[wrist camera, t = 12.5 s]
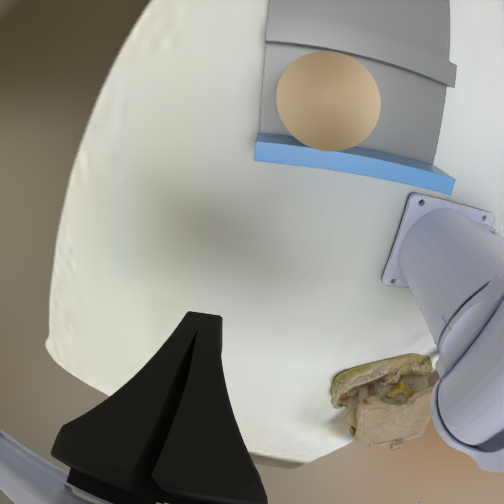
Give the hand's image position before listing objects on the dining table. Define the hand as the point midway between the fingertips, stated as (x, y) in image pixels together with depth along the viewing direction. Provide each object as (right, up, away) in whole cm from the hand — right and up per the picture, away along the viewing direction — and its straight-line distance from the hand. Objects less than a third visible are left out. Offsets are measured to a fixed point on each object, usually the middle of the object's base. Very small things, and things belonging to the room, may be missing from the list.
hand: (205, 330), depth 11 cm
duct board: (+9, +16, +2) cm, 18 cm away
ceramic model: (+19, -13, +19) cm, 30 cm away
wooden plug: (+5, +12, +3) cm, 13 cm away
